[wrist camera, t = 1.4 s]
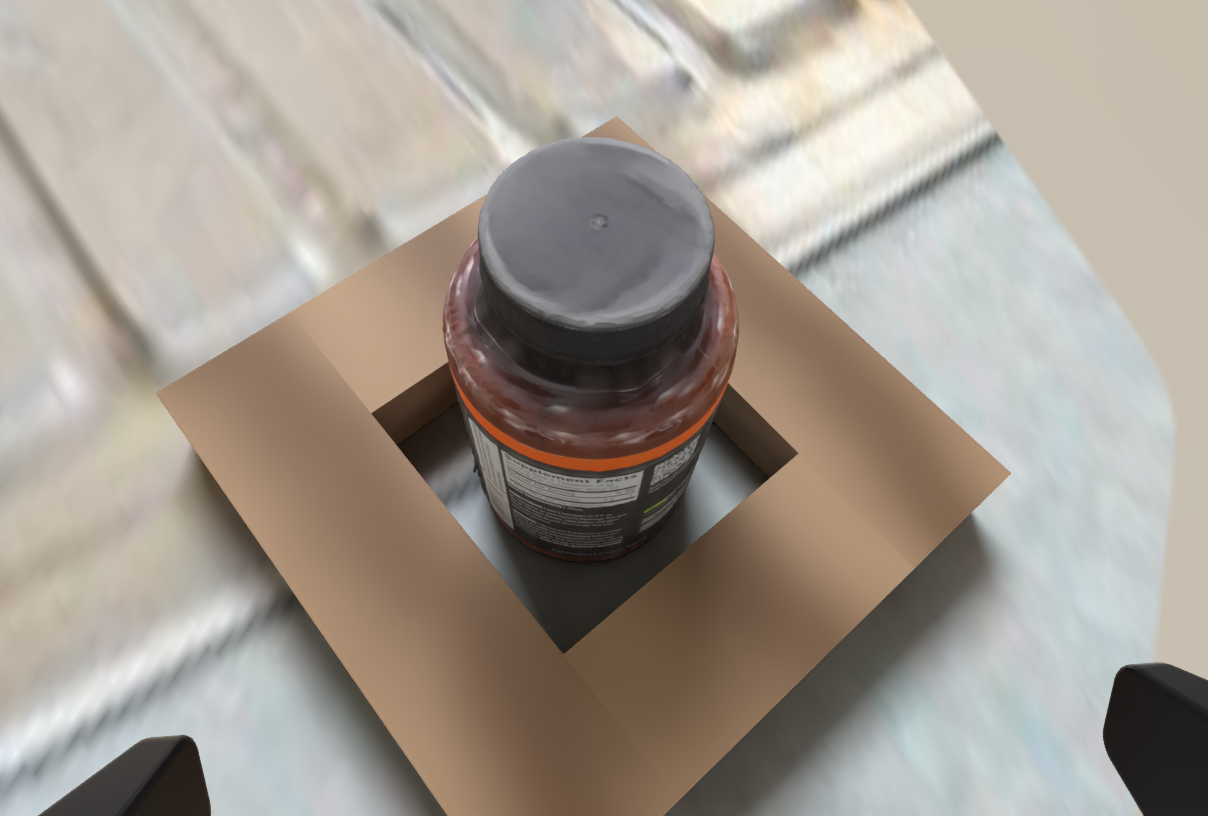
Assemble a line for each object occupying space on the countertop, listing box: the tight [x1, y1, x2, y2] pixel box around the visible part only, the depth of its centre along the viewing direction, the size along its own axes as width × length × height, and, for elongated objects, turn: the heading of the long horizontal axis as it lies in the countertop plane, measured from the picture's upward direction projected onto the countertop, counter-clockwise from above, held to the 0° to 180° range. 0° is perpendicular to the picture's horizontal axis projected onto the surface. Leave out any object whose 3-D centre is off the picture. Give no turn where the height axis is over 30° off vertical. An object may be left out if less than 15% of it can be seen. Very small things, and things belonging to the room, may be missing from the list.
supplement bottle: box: [443, 137, 739, 562], centre depth 18 cm, size 6×6×11 cm
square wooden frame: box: [156, 116, 1011, 816], centre depth 22 cm, size 16×16×2 cm
